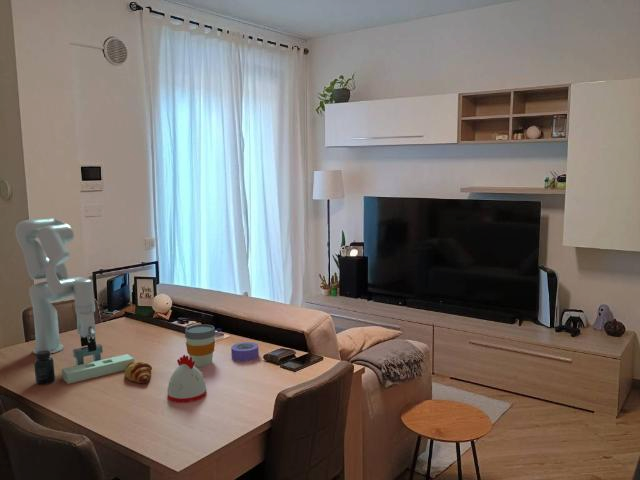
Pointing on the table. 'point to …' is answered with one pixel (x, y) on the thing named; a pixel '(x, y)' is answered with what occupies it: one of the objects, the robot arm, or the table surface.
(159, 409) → the table surface
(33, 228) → the robot arm
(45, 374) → the supplement bottle
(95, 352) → the clip
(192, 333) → the reusable coffee cup
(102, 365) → the rail
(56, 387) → the table surface
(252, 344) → the tape roll
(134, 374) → the croissant
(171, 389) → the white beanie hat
